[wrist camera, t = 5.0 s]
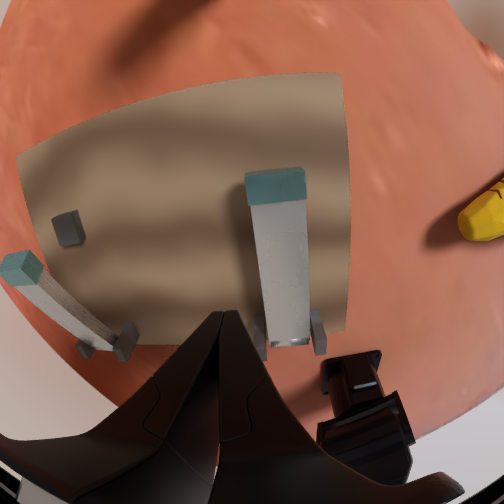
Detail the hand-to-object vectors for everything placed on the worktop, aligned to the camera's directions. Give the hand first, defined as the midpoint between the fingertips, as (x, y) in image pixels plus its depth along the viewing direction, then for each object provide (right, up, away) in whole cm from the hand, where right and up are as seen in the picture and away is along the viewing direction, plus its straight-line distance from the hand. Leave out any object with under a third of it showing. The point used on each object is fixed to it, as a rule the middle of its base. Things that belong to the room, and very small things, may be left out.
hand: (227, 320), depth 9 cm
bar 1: (-13, -2, +8) cm, 15 cm away
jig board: (-5, +4, +12) cm, 14 cm away
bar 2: (+3, +1, +9) cm, 10 cm away
